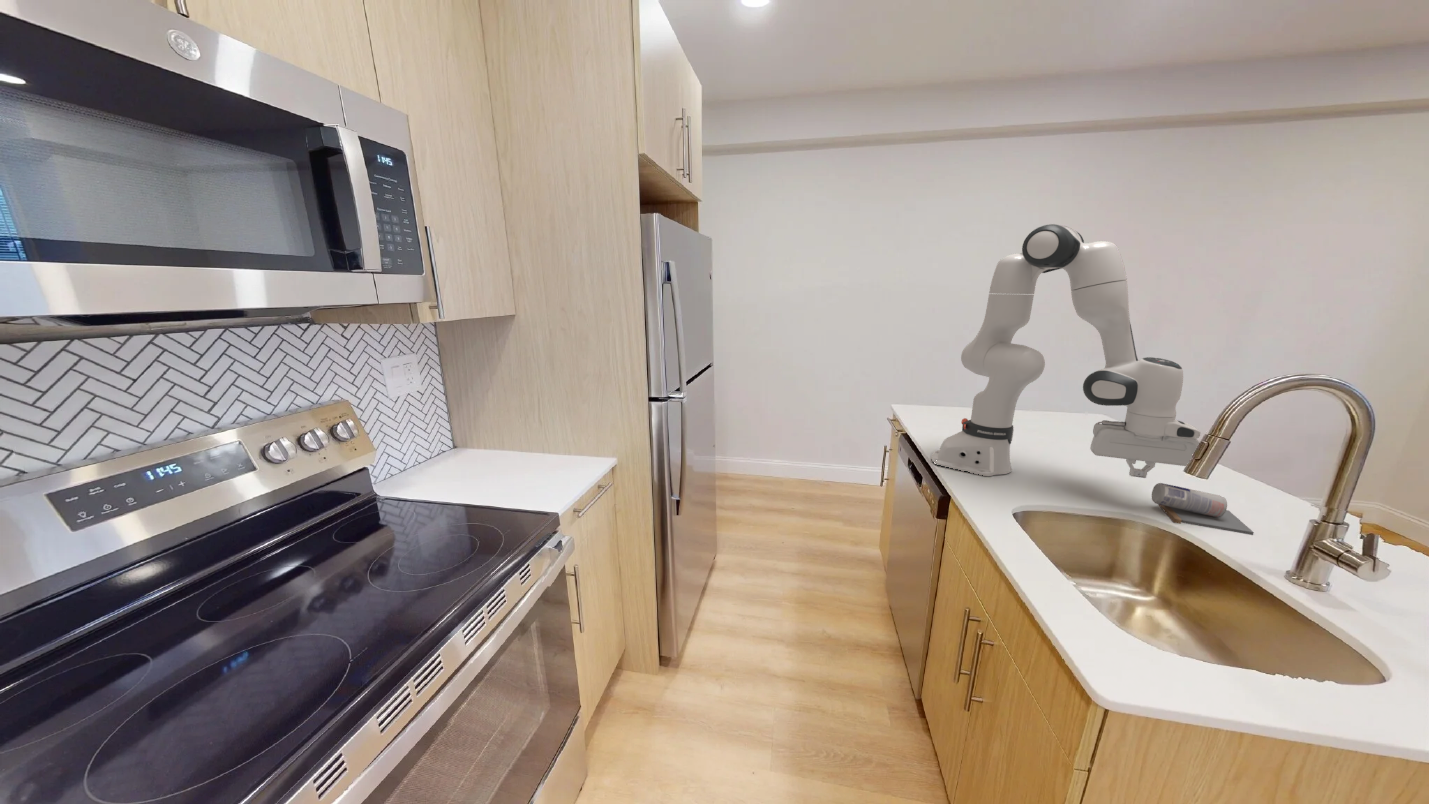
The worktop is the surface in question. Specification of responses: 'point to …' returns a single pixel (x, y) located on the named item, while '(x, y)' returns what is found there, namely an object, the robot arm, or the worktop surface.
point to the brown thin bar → (1171, 514)
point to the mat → (1213, 521)
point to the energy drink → (1189, 500)
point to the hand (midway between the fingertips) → (1137, 476)
